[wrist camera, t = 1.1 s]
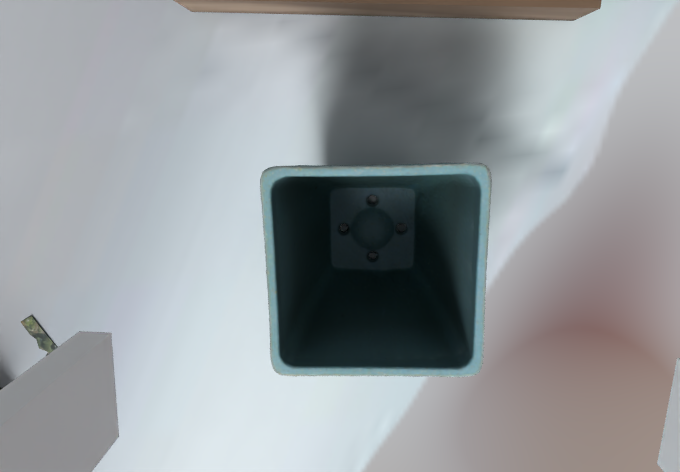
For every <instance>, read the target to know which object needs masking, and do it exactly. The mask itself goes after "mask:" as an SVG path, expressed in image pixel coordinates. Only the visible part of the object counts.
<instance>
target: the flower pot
mask: <svg viewBox="0 0 680 472" xmlns="http://www.w3.org/2000/svg"><path fill="white" fill-rule="evenodd" d="M260 189H261V202H262V215H263V228H264V241H265V253H266V274H267V287H268V304H269V324H270V354H271V362H272V366H273V369H274V371H275V372H276V373H278V374H279V375H284V376H414V377H419V376H432V377H435V376H436V377H465V376H473V375H476V374H477V373H479V372H480V369H481V367H482V364H483V353H484V314H485V290H486V268H487V254H488V253H487V249H488V233H489V216H490V200H491V172H490V170H489V168H488V167H487V166H486V165H484V164H481V163H436V164H406V165H362V166H309V165H298V166H276V167H270V168H268V169H266V170H264V171H263V173H262V175H261V179H260ZM371 195H374V196H376V198H377V202H376V203H375V204H370V203H369V202H368V197H369V196H371ZM400 223H403V224H405V225H406V230H405V231H404V232H399V231H398V230H397V225H398V224H400ZM341 224H346V225H347V226H348V231H347V232H345V233H344V232H341V231H340V229H339V228H340V225H341ZM372 251H375V252H376V253H377V258H376V259H370V258H369V256H368V254H369V253H370V252H372Z"/></svg>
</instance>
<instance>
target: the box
mask: <svg viewBox="0 0 680 472" xmlns="http://www.w3.org/2000/svg"><path fill="white" fill-rule="evenodd" d="M174 1H175V2H177V3H179V4H180V5H182V6H184V7H185V8H187V9H188V10H190V11H192V12H227V13H269V14H312V15H354V16H397V17H440V18H482V19H525V20H567V21H573V20H576V19H578V18H580V17H582V16H585V15H587V14H589V13H591V12H593V11H596V10H598V9H600V7H601V0H174Z"/></svg>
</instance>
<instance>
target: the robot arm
mask: <svg viewBox="0 0 680 472" xmlns="http://www.w3.org/2000/svg"><path fill="white" fill-rule="evenodd" d="M118 437H119V430H118V417H117V403H116V390H115V376H114V363H113V349H112V336H111V333H105V332H83V331H79V332H78V333H77V334H75V335H74V336H73V337H71V338H70V339H69V340H67V341H66V342H64V343H63V344H62V345H60V346H59V347H58V348H56V349H55V350H54V351H52V352H51V353H50V354H48V355H47V356H46V357H44V358H43V359H42V360H40V361H39V362H38V363H36V364H35V365H33V366H32V367H31V368H29V369H28V370H27V371H25V372H24V373H23V374H21V375H20V376H19V377H17V378H16V379H15V380H13V381H12V382H11V383H9V384H8V385H6V386H5V387H4V388H2V389H1V390H0V472H92V471H93V469H94V468H95V467H96V465H97V464H98V463H99V462H100V460H101V459H102V458H103V456H104V455H105V454H106V452H107V451H108V450H109V449H110V447H111V446H112V445H113V443H114V442H115V441H116V439H117V438H118ZM657 464H658V465H659V467H660V468H661V469H662V470H663V471H664V472H680V358H677V362H676V367H675V373H674V378H673V383H672V388H671V394H670V399H669V404H668V410H667V415H666V420H665V425H664V430H663V436H662V441H661V446H660V452H659V457H658V462H657Z"/></svg>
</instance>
